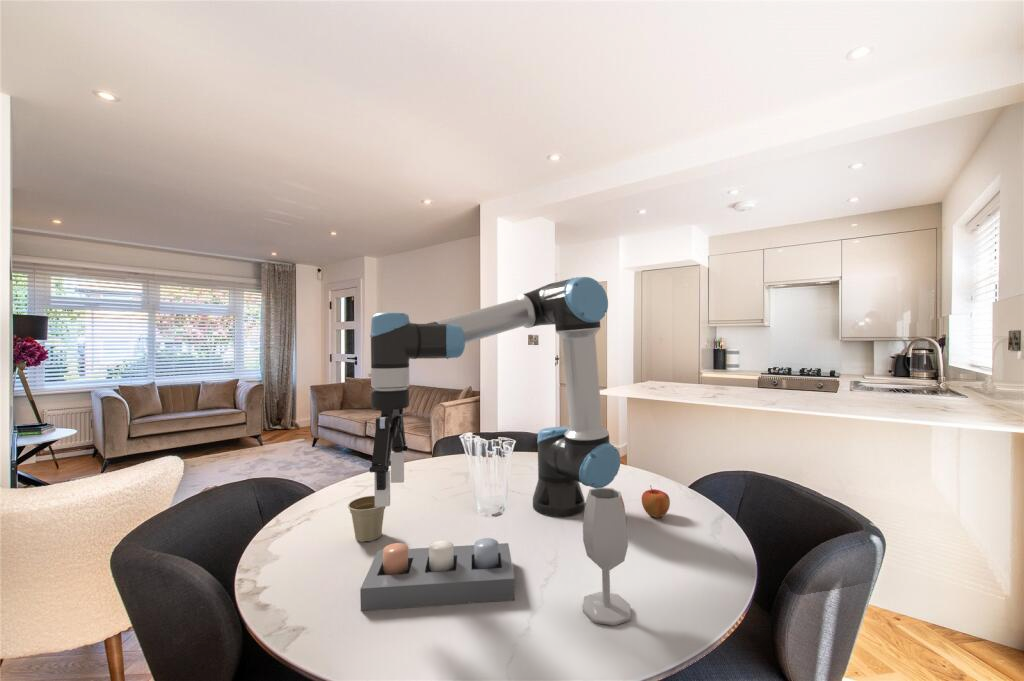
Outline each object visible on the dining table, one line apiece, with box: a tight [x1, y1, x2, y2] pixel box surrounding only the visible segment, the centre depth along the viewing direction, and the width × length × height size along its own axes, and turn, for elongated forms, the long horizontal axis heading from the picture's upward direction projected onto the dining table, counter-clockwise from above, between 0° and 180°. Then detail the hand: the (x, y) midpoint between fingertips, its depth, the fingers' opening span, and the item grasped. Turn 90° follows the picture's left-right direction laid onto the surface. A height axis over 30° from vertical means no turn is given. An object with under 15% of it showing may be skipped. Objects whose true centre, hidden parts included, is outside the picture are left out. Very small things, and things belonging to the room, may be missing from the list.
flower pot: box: [347, 495, 387, 543], centre depth 105 cm, size 9×9×9 cm
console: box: [360, 542, 516, 612], centre depth 84 cm, size 28×14×4 cm, turn 95°
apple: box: [641, 485, 671, 519], centre depth 115 cm, size 7×7×8 cm
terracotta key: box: [383, 542, 409, 575], centre depth 83 cm, size 5×5×4 cm
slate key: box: [473, 537, 499, 569], centre depth 85 cm, size 5×5×4 cm
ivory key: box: [428, 540, 454, 572], centre depth 84 cm, size 5×5×4 cm
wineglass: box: [581, 487, 632, 626], centre depth 75 cm, size 9×9×21 cm
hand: (390, 493), depth 85 cm, fingers open, 13 cm apart
